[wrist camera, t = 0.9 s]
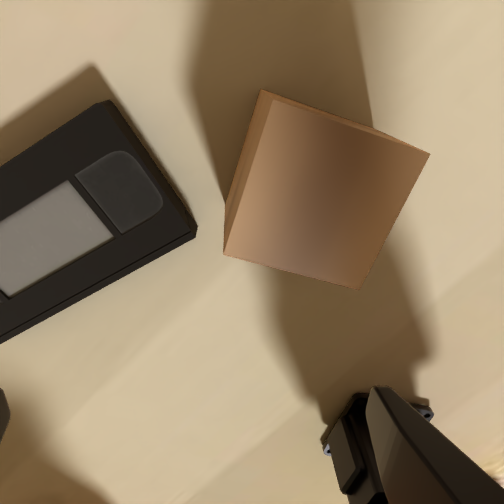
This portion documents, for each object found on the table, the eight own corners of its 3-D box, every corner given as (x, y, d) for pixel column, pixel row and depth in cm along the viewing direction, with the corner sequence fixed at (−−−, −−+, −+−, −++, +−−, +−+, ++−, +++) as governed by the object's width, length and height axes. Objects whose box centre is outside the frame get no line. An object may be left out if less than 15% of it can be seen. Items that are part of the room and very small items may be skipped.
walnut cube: (373, 128, 19) (430, 154, 13) (326, 233, 21) (359, 290, 16) (260, 88, 18) (273, 99, 12) (225, 204, 20) (223, 254, 15)
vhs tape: (-97, 235, 20) (-128, 251, 19) (113, 97, 18) (100, 100, 16) (7, 328, 24) (-12, 350, 22) (198, 222, 21) (195, 237, 19)
